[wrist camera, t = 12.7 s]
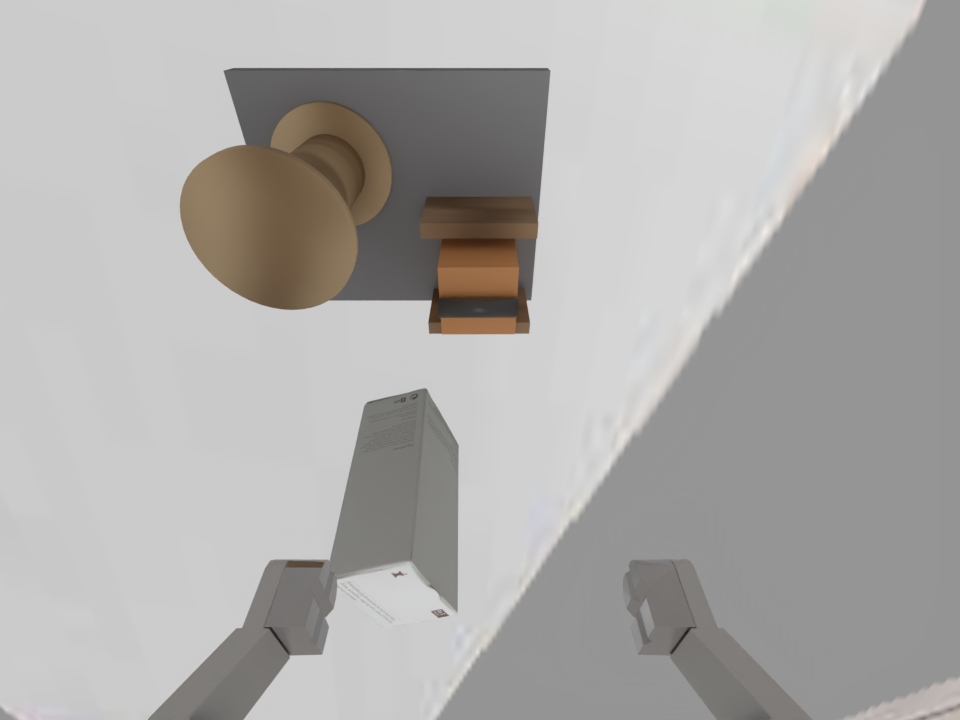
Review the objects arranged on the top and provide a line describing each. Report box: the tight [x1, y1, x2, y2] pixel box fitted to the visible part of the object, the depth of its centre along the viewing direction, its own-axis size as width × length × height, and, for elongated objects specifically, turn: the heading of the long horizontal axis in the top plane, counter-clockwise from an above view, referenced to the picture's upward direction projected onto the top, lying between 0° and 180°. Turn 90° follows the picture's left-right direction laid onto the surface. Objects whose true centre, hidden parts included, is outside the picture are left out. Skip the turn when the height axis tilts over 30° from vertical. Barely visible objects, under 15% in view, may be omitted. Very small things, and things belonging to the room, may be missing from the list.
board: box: [224, 68, 550, 301], centre depth 26 cm, size 16×13×1 cm
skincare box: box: [330, 388, 459, 627], centre depth 33 cm, size 8×6×15 cm
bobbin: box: [180, 101, 393, 310], centre depth 21 cm, size 6×6×10 cm
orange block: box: [437, 239, 519, 334], centre depth 25 cm, size 4×4×7 cm
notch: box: [420, 197, 539, 334], centre depth 26 cm, size 6×7×4 cm
